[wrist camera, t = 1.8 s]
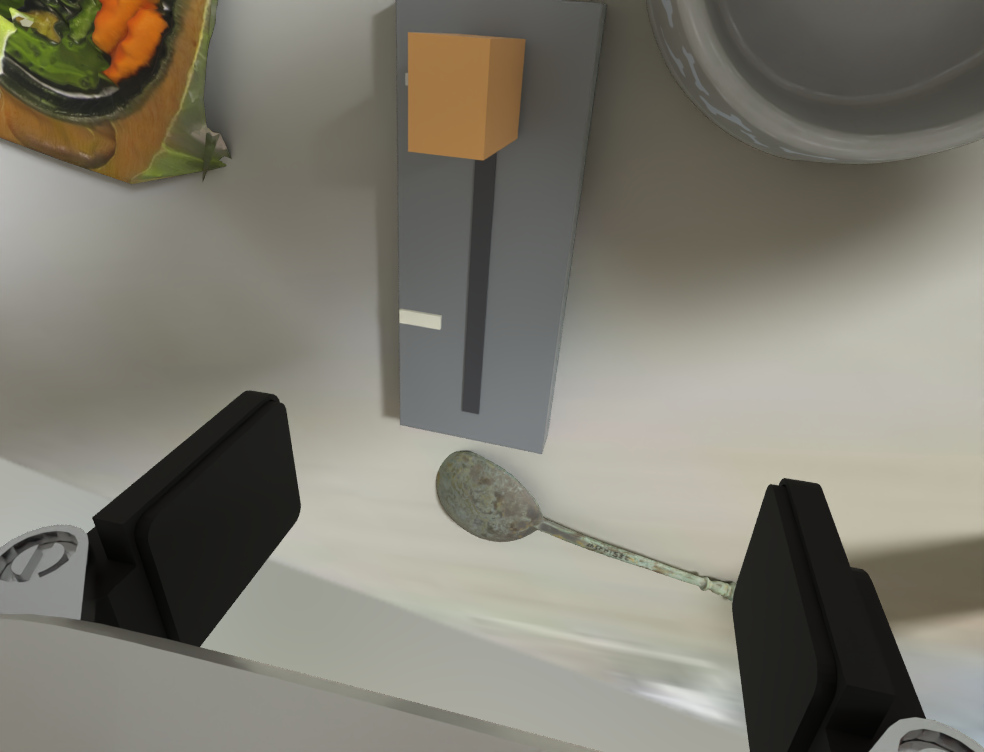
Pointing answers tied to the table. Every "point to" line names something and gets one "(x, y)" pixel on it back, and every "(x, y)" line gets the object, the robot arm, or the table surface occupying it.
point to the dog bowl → (831, 73)
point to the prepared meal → (110, 84)
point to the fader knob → (463, 93)
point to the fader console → (494, 230)
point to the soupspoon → (525, 514)
